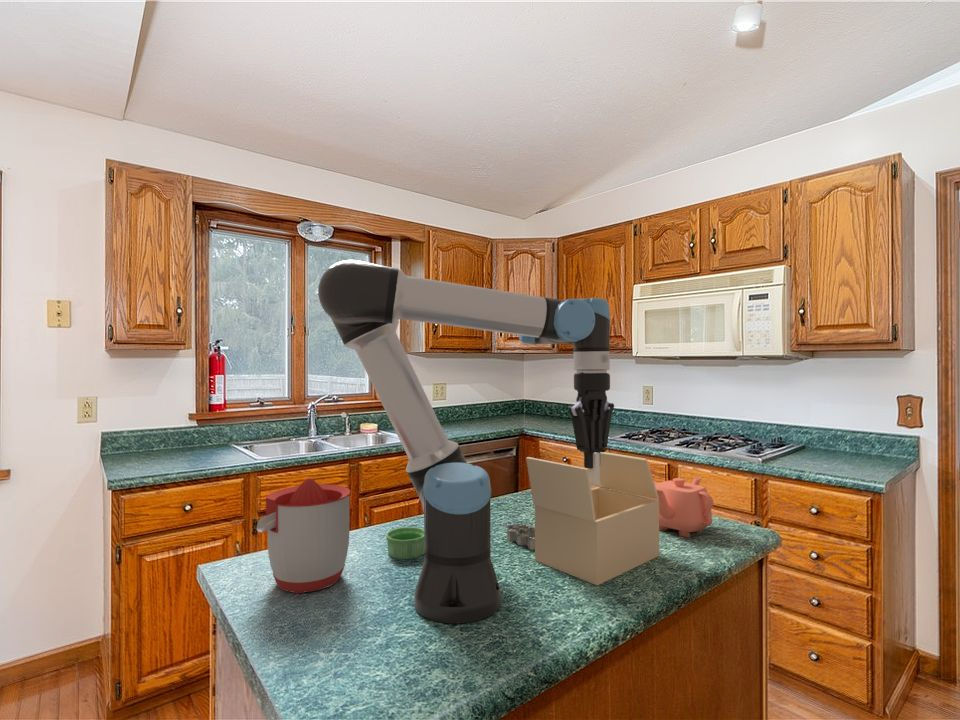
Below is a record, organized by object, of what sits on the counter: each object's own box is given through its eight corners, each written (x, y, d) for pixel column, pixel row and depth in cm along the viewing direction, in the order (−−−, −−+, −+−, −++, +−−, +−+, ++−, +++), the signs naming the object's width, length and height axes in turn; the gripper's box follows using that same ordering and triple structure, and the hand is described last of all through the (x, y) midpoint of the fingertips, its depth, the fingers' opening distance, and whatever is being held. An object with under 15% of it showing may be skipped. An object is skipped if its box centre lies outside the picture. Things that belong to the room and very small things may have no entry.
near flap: (595, 520, 97) (593, 522, 97) (535, 503, 109) (533, 504, 108) (588, 468, 96) (586, 469, 95) (527, 456, 107) (525, 457, 107)
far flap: (645, 460, 108) (646, 458, 108) (585, 450, 120) (586, 449, 120) (657, 499, 111) (659, 497, 112) (598, 486, 123) (599, 484, 123)
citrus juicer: (245, 581, 99) (245, 478, 99) (331, 558, 111) (330, 466, 111) (272, 611, 87) (271, 494, 87) (365, 582, 99) (364, 478, 99)
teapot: (654, 539, 122) (654, 486, 122) (642, 517, 138) (642, 470, 138) (721, 542, 120) (721, 487, 120) (700, 519, 136) (700, 472, 136)
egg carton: (556, 545, 119) (556, 528, 119) (532, 553, 114) (532, 534, 114) (525, 533, 127) (525, 516, 127) (501, 539, 123) (501, 522, 122)
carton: (597, 585, 97) (596, 521, 97) (535, 560, 109) (534, 504, 109) (659, 556, 111) (658, 500, 111) (598, 536, 123) (597, 486, 123)
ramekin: (424, 560, 110) (424, 540, 110) (382, 561, 109) (382, 540, 110) (428, 545, 118) (428, 526, 118) (389, 545, 118) (389, 526, 118)
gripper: (586, 372, 102) (587, 491, 102) (624, 371, 110) (625, 481, 110) (557, 372, 108) (558, 484, 108) (596, 371, 116) (596, 475, 116)
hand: (592, 482), depth 109 cm, fingers closed
